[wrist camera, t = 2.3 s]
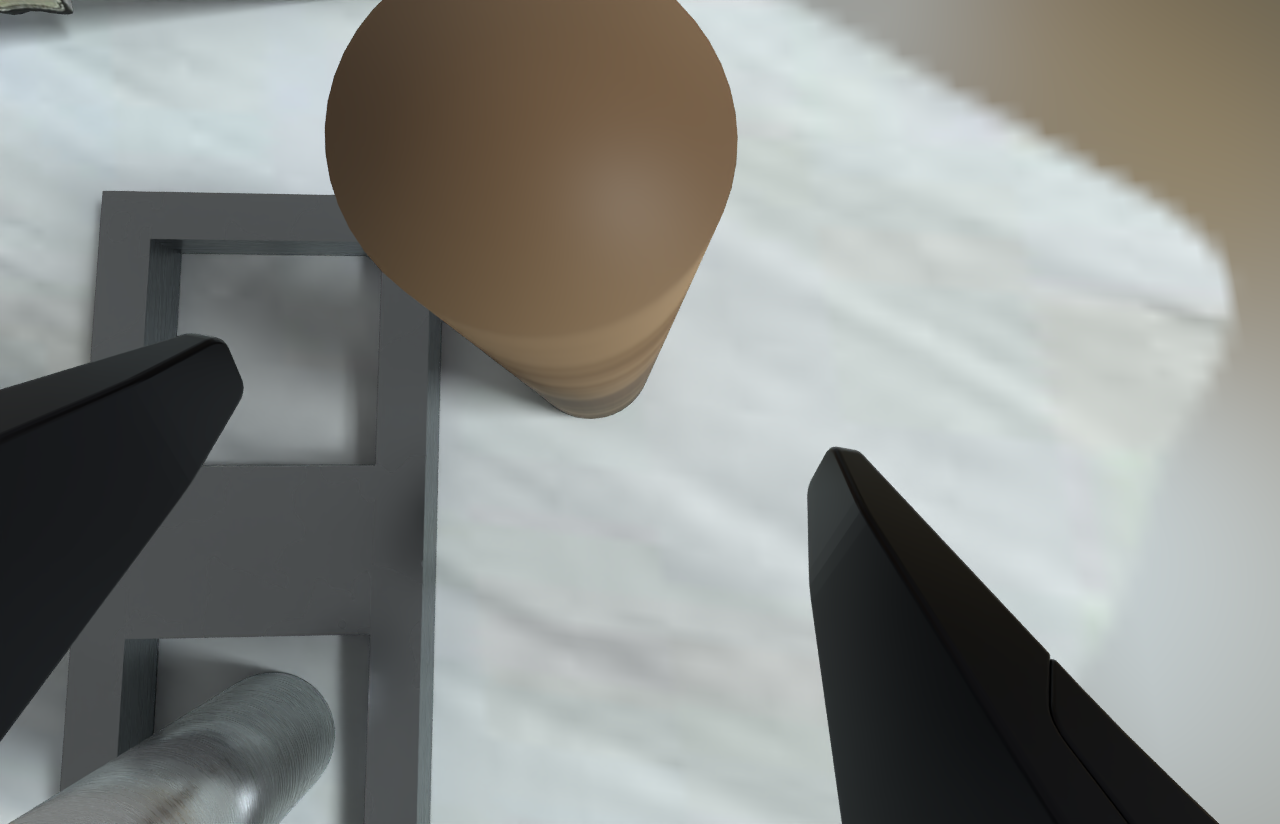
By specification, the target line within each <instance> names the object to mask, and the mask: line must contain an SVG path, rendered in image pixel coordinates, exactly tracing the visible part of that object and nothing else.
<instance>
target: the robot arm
mask: <svg viewBox="0 0 1280 824" xmlns="http://www.w3.org/2000/svg"><path fill="white" fill-rule="evenodd" d="M243 388H244V387H243V381H242V379H241V376H240V374H239V371H238V369H237V367H236V364H235V362H234V360H233V357H232V355H231V352H230V350H229V348H228V346H227V344H226V343H225V342H224V341H223V340H221V339H219V338H216V337H211V336H205V335H200V334H184V335H180V336H177V337H174V338H170V339H167V340H164V341H160V342H157V343H154V344H150V345H147V346H144V347H140V348H137V349H134V350H130V351H127V352H124V353H120V354H117V355H114V356H110V357H107V358H104V359H101V360H97V361H94V362H91V363H87V364H84V365H81V366H77V367H74V368H71V369H67V370H64V371H61V372H57V373H54V374H51V375H47V376H44V377H41V378H37V379H34V380H31V381H27V382H24V383H21V384H17V385H14V386H11V387H7V388H4V389H1V390H0V741H1V740H2V739H3V737H4V736H5V735H6V733H7V732H8V730H9V729H10V728H11V726H12V725H13V724H14V722H15V721H16V720H17V718H18V717H19V716H20V714H21V713H22V712H23V710H24V709H25V708H26V706H27V705H28V704H29V702H30V701H31V699H32V698H33V697H34V695H35V694H36V693H37V691H38V690H39V689H40V687H41V686H42V685H43V683H44V682H45V681H46V679H47V678H48V677H49V675H50V674H51V673H52V671H53V670H54V668H55V667H56V666H57V664H58V663H59V662H60V660H61V659H62V658H63V656H64V655H65V654H66V652H67V651H68V650H69V648H70V647H71V646H72V644H73V643H74V641H75V640H76V639H77V637H78V636H79V635H80V633H81V632H82V631H83V629H84V628H85V627H86V625H87V624H88V623H89V621H90V620H91V619H92V617H93V616H94V615H95V613H96V612H97V610H98V609H99V608H100V606H101V605H102V604H103V602H104V601H105V600H106V598H107V597H108V596H109V594H110V593H111V592H112V590H113V589H114V588H115V586H116V585H117V584H118V582H119V581H120V579H121V578H122V577H123V575H124V574H125V573H126V571H127V570H128V569H129V567H130V566H131V565H132V563H133V562H134V561H135V559H136V558H137V557H138V555H139V554H140V552H141V551H142V550H143V548H144V547H145V546H146V544H147V543H148V542H149V540H150V539H151V538H152V536H153V535H154V534H155V532H156V531H157V530H158V528H159V527H160V526H161V524H162V523H163V521H164V520H165V519H166V517H167V516H168V515H169V513H170V512H171V511H172V509H173V508H174V507H175V505H176V504H177V503H178V501H179V500H180V499H181V497H182V496H183V494H184V493H185V491H186V490H187V489H188V487H189V486H190V484H191V483H192V481H193V480H194V478H195V476H196V475H197V473H198V472H199V470H200V468H201V467H202V465H203V463H204V461H205V460H206V458H207V456H208V455H209V453H210V451H211V450H212V448H213V446H214V444H215V443H216V441H217V439H218V438H219V436H220V434H221V432H222V431H223V429H224V427H225V426H226V424H227V422H228V420H229V419H230V417H231V415H232V414H233V412H234V410H235V408H236V407H237V405H238V403H239V402H240V400H241V398H242V394H243ZM807 505H808V557H809V586H810V596H811V604H812V611H813V618H814V626H815V633H816V640H817V647H818V655H819V662H820V669H821V676H822V683H823V691H824V698H825V705H826V712H827V720H828V727H829V734H830V741H831V748H832V756H833V763H834V770H835V777H836V785H837V792H838V799H839V806H840V813H841V821H842V824H1219V823H1218V822H1217V821H1216V820H1215V819H1214V818H1213V817H1211V816H1210V815H1209V814H1208V813H1207V812H1206V811H1205V810H1204V809H1203V808H1202V807H1201V806H1200V805H1199V804H1198V803H1197V802H1196V801H1195V800H1194V799H1193V798H1192V797H1191V796H1190V795H1189V794H1187V793H1186V792H1185V791H1184V790H1183V789H1182V788H1181V787H1180V786H1179V785H1178V784H1177V783H1176V782H1175V781H1174V780H1173V779H1172V778H1171V777H1170V776H1169V775H1167V773H1166V772H1165V771H1164V770H1163V769H1162V768H1161V767H1160V766H1159V765H1158V764H1157V763H1156V762H1154V761H1153V760H1152V759H1151V758H1150V757H1149V756H1148V755H1147V754H1146V753H1145V752H1144V751H1143V750H1142V749H1141V748H1140V747H1139V746H1138V745H1137V744H1136V743H1135V742H1134V741H1133V740H1132V739H1131V738H1130V737H1129V736H1128V735H1127V734H1126V733H1125V732H1124V731H1123V730H1122V729H1121V728H1120V727H1119V726H1118V725H1117V724H1116V723H1115V722H1114V721H1113V720H1112V719H1111V718H1110V717H1109V715H1108V714H1107V713H1106V712H1105V711H1104V710H1103V709H1102V708H1101V707H1100V706H1099V705H1098V704H1097V703H1096V702H1095V701H1094V700H1093V699H1092V698H1091V697H1090V696H1089V695H1088V694H1087V693H1086V692H1085V691H1084V690H1083V689H1082V688H1081V686H1080V685H1079V684H1078V683H1077V682H1076V681H1075V680H1074V679H1073V678H1072V677H1071V676H1070V675H1069V674H1068V673H1067V672H1066V670H1065V669H1064V668H1063V667H1062V666H1061V665H1060V664H1059V663H1058V662H1057V661H1056V660H1054V659H1050V654H1049V653H1048V652H1047V650H1046V649H1045V648H1044V647H1043V646H1042V645H1041V644H1040V643H1039V642H1038V641H1037V640H1036V639H1035V638H1034V637H1033V636H1032V634H1031V633H1030V632H1029V631H1028V630H1027V629H1026V628H1025V627H1024V626H1023V625H1022V624H1021V623H1020V622H1019V621H1018V620H1017V619H1016V617H1015V616H1014V615H1013V614H1012V613H1011V612H1010V611H1009V610H1008V609H1007V608H1006V607H1005V606H1004V605H1003V604H1002V603H1001V601H1000V600H999V599H998V598H997V597H996V596H995V595H994V594H993V593H992V592H991V591H990V590H989V589H988V588H987V587H986V585H985V584H984V583H983V582H982V581H981V580H980V579H979V578H978V577H977V576H976V575H975V574H974V573H973V572H972V571H971V569H970V568H969V567H968V566H967V565H966V564H965V563H964V562H963V561H962V560H961V559H960V558H959V557H958V556H957V555H956V553H955V552H954V551H953V550H952V549H951V548H950V547H949V546H948V545H947V544H946V543H945V542H944V541H943V540H942V539H941V537H940V536H939V535H938V534H937V533H936V532H935V531H934V530H933V529H932V528H931V527H930V526H929V525H928V524H927V523H926V521H925V520H924V519H923V518H922V517H921V516H920V515H919V514H918V513H917V512H916V511H915V510H914V509H913V508H912V507H911V505H910V504H909V503H908V502H907V501H906V500H905V499H904V498H903V497H902V496H901V495H900V494H899V493H898V492H897V491H896V489H895V488H894V487H893V486H892V485H891V484H890V483H889V482H888V481H887V480H886V479H885V478H884V477H883V476H882V475H881V473H880V472H879V471H878V470H877V469H876V468H875V467H874V466H873V465H872V464H871V463H870V462H869V461H868V460H867V459H866V457H865V456H864V455H863V454H861V453H860V452H859V451H857V450H852V449H847V448H841V447H832V448H830V449H829V450H828V451H827V452H826V454H825V456H824V457H823V459H822V461H821V463H820V465H819V467H818V468H817V470H816V472H815V474H814V476H813V478H812V479H811V481H810V484H809V488H808V494H807Z"/></svg>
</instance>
